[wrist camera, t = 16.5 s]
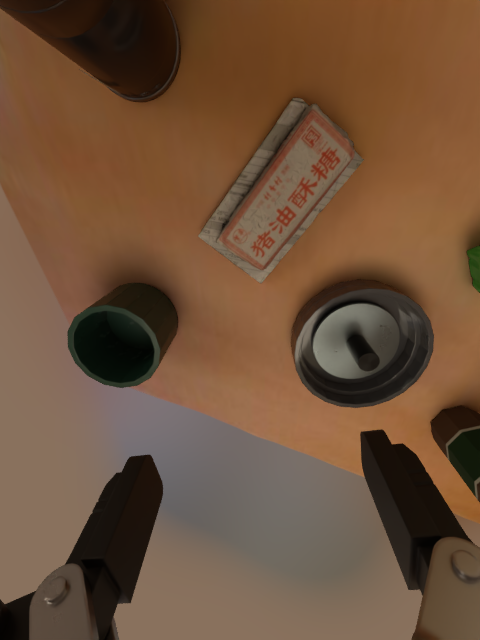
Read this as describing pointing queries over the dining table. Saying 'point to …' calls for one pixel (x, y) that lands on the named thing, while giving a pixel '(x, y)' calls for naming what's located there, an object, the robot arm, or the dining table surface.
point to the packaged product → (282, 189)
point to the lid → (356, 340)
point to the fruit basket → (475, 266)
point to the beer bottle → (460, 443)
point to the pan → (391, 377)
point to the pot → (123, 335)
